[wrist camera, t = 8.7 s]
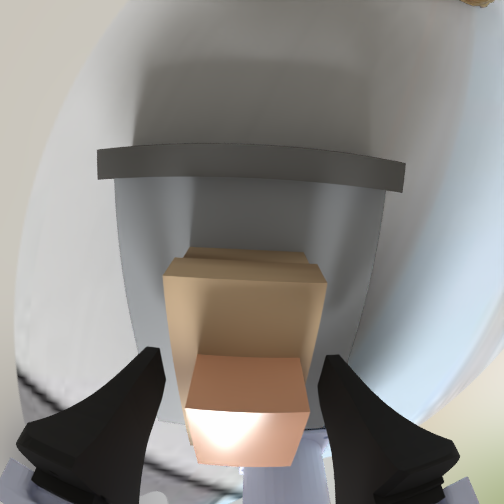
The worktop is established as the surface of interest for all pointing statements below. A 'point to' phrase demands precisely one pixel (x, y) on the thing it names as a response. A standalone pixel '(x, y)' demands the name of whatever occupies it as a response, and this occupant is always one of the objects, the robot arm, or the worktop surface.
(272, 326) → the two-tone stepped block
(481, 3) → the brown rounded lump
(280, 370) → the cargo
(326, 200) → the dock
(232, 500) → the worktop surface
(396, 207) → the worktop surface
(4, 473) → the robot arm
